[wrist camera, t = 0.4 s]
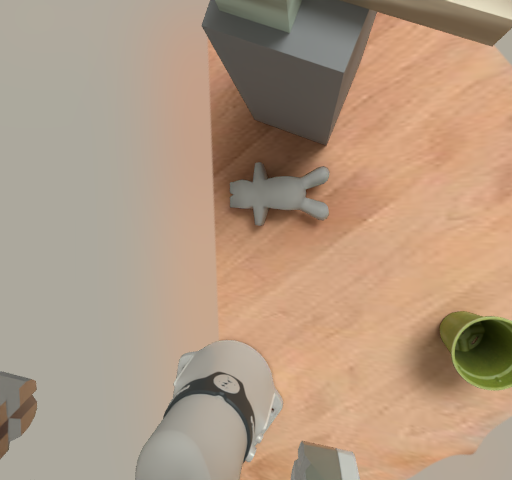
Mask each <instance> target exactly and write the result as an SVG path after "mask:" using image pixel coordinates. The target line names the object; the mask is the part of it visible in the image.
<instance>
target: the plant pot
mask: <svg viewBox="0 0 512 480" xmlns="http://www.w3.org/2000/svg"><path fill="white" fill-rule="evenodd" d="M463 331H464V333H463V334H461V333H462V332H463ZM440 336H441V339H442V341H443V342H444V344H445V345H446V347H447V348H448V350H449V351H450V353H451V358H452V362H453V365H454V367H455V369H456V370H457V372H458V373H459V374H460V376H461V377H462V378H463V379H464V380H466V381H467V382H468V383H470V384H472V385H473V386H475V387H478V388H481V389H486V390H504V389H507V388H510V387H512V321H510V320H508V319H505V318H501V317H496V316H485V317H483V316H479V315H476V314H473V313H469V312H465V311H460V312H454V313H451V314H449V315H448V316H446V317H445V318H444V320H443V321H442V323H441V325H440ZM476 337H478V339H477V341H476V342H475V343H474V344H472V342H473V341H474V339H475V338H476Z"/></svg>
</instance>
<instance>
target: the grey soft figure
mask: <svg viewBox="0 0 512 480" xmlns="http://www.w3.org/2000/svg"><path fill="white" fill-rule="evenodd" d="M328 178H329V170H328V168H326V167H324V166H322V167H318V168H317V169H315V170H313V171H311V172H310V173H308V174H306V175H305V176H303V177H301V178H299V177H290V176H280V177H274V178H269V179H268V177H267V173H266V170H265V167H264V164H262V163H261V162H258V163H255V168H254V176H253V182H250V181H247V180H238V181H235V182H230V193H232V194H233V195H232V196H231V197H230V207H234V208H243V209H251V208H253V211H254V219H255V225H264V223H265V219H266V216H267V213H268V210H269V208H273V209H281V210H302V211H303V212H305V213H307V214H309V215H311V216H312V217H314V218H316V219H318V220H325V219H327V217H328V215H329V211H328V207H327V205H326V204H325V203H323V202H319V201H316V200H312V199H309V198H305V197H306V190H305V189H308V188H311V187H314V186H317V185H321V184H324V183H325V182H326V181H327V180H328Z"/></svg>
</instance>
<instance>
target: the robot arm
mask: <svg viewBox="0 0 512 480" xmlns="http://www.w3.org/2000/svg"><path fill="white" fill-rule="evenodd" d="M184 366H185V367H184ZM174 387H175V389H174V394H173V399H172V400H171V402H170V404H169V406H168V408H167V410H166V412H165V414H164V418H163V420H162V421H161V423H160V424H159V426H158V427H157V429H156V430H155V432H154V433H153V434H152V435H151V437H150V438H149V439H148V441H147V442H146V444H145V445H144V447H143V449H142V451H141V453H140V455H139V458H138V461H137V466H136V478H135V480H239V479H240V474H241V469H242V464H243V463H244V462H245V461H247V462H251V460H252V459H253V457H254V455H255V452H256V447H255V446H256V444H257V443H260V442H261V440H262V438H263V434H264V433H265V432H266V430H267V429H268V427H269V426H270V425H271V423H272V422H273V421H274V419H275V418H276V416H277V415H278V414H279V412H280V411H281V409H282V407H283V399H282V397H281V396H280V394H279V393H278V391H277V390H276V388H275V386H274V383H273V378H272V374H271V371H270V368H269V366H268V364H267V362H266V361H265V359H264V358H263V357H262V356H261V355H260V354H259V353H258V352H257V351H256V350H255V349H253V348H252V347H250V346H249V345H247V344H244V343H242V342H238V341H234V340H222V341H217V342H214V343H212V344H209V345H208V346H206V347H204V348H203V349H201V350H199V351H197V352H190V353H186V354H184V355H182V357H181V358H180V360H179V365H178V371H177V377H176V380H175V382H174ZM36 390H37V388H36V381H34V380H32V379H28V378H25V377H21V376H17V375H13V374H9V373H6V372H2V371H0V459H1V458H2V457H3V456H4V455H5V454H6V452H7V451H8V450H9V443H10V441H12V440H14V439H16V438H18V437H20V436H21V435H22V434H23V433H24V432H25V431H26V430H27V428H28V427H29V426H30V424H31V422H32V420H33V419H34V417H35V413H36V410H37V401H36V400H35V398H34V397H33V395H32V394H33V393H34V392H35V391H36ZM272 408H273V409H274V410H271V409H272ZM291 480H360V477H359V472H358V468H357V463H356V459H355V455H354V454H353V452H350V451H346V450H341V449H337V448H333V447H329V446H324V445H319V444H315V443H310V442H305V441H302V442H301V443H300V446H299V449H298V459H297V460H296V461H294V465H293V469H292V474H291Z"/></svg>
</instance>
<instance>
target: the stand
mask: <svg viewBox="0 0 512 480" xmlns="http://www.w3.org/2000/svg"><path fill="white" fill-rule="evenodd" d="M376 13H377V11H373V10H370V9H367V8H363V7H360V6H357V5H354V4H350V3H347V2H344V1H340V0H302V2H301V5H300V8H299V10H298V13H297V16H296V18H295V21H294V24H293V26H292V29H291V32H290V33H288V32H285V31H282V30H279V29H276V28H272V27H269V26H266V25H263V24H260V23H257V22H254V21H251V20H248V19H245V18H241V17H238V16H235V15H232V14H229V13H226V12H223V11H220V10H219V8H218V6H217V4H216V2H215V0H210V3H209V5H208V8H207V11H206V14H205V17H204V20H203V23H202V27H203V29H204V31H205V33H206V34H207V36H208V38H209V40H210V41H211V43H212V45H213V47H214V49H215V50H216V52H217V54H218V56H219V57H220V59H221V61H222V63H223V64H224V66H225V68H226V70H227V72H228V73H229V75H230V77H231V79H232V80H233V82H234V84H235V86H236V87H237V89H238V91H239V93H240V94H241V96H242V98H243V100H244V102H245V103H246V105H247V107H248V109H249V110H250V112H251V114H252V116H253V117H254V119H255V120H257V121H260V122H262V123H265V124H268V125H271V126H274V127H276V128H279V129H282V130H285V131H287V132H290V133H293V134H296V135H298V136H301V137H304V138H307V139H309V140H312V141H315V142H318V143H320V144H323V145H326V146H327V143H328V141H329V138H330V136H331V133H332V131H333V128H334V126H335V123H336V121H337V118H338V116H339V114H340V111H341V109H342V106H343V104H344V101H345V99H346V96H347V94H348V91H349V89H350V86H351V84H352V81H353V79H354V77H355V74H356V72H357V69H358V67H359V64H360V62H361V59H362V56H363V53H364V50H365V47H366V44H367V41H368V38H369V35H370V32H371V28H372V25H373V22H374V19H375V16H376Z"/></svg>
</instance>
